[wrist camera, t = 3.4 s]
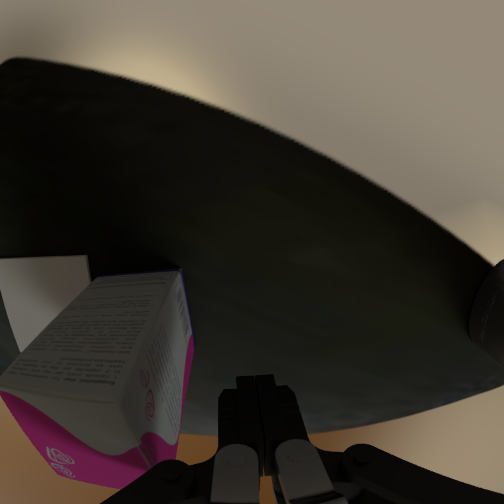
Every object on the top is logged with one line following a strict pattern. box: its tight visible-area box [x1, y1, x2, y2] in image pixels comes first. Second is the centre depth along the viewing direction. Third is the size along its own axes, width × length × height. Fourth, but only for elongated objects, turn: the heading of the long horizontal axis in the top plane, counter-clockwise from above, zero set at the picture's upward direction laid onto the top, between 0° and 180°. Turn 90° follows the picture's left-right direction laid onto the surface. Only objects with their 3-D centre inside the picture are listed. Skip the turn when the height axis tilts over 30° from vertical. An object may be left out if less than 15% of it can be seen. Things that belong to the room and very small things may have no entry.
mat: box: [0, 255, 92, 352], centre depth 17 cm, size 9×8×1 cm
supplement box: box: [0, 269, 195, 489], centre depth 13 cm, size 6×6×12 cm
